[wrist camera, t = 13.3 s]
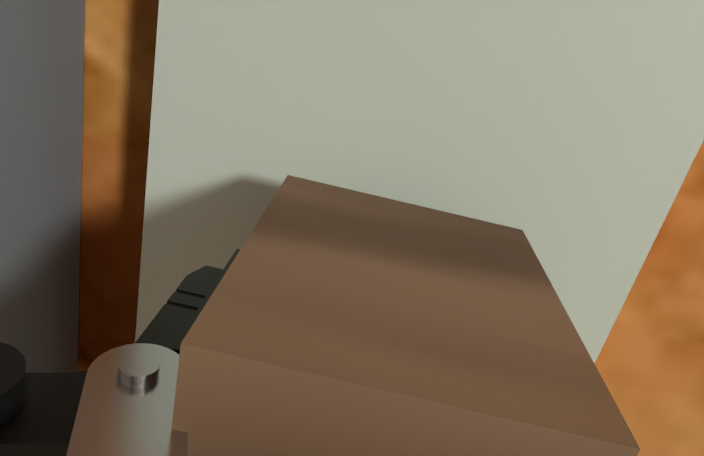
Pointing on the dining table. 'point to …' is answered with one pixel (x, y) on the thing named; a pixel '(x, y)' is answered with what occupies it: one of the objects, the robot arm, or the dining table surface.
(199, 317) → the walnut block
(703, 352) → the dining table surface
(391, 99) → the board
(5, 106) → the access box
